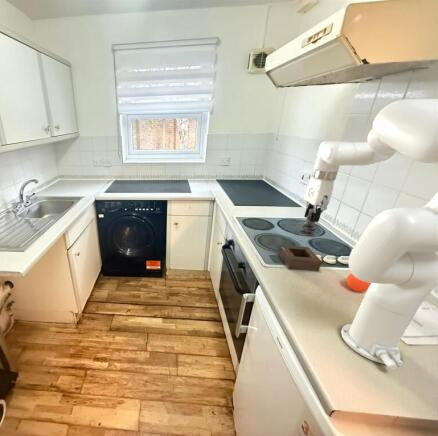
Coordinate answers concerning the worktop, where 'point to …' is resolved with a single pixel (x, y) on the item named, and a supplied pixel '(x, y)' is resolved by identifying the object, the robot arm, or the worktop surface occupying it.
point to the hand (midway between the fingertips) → (311, 218)
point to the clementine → (357, 283)
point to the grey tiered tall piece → (308, 225)
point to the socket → (299, 258)
